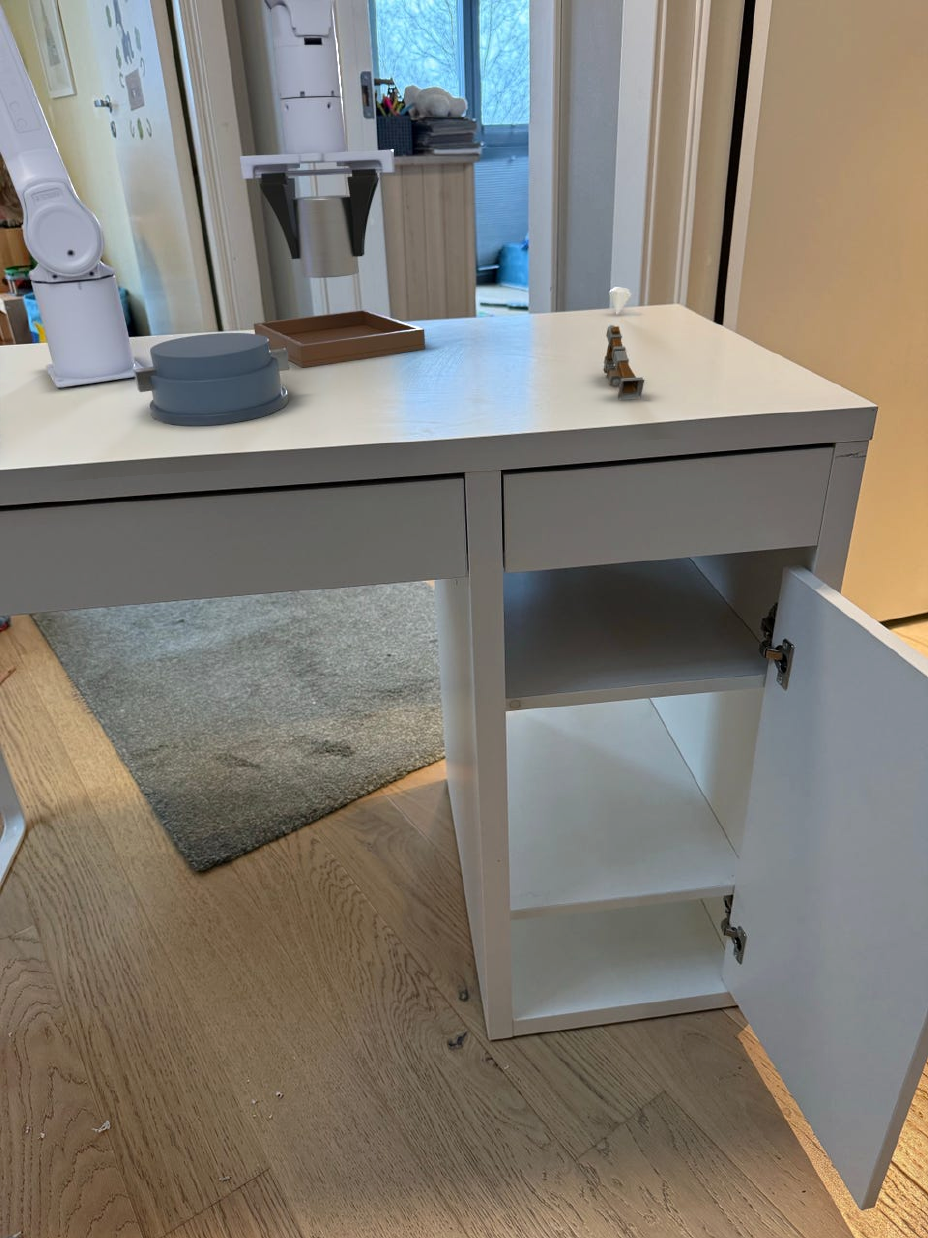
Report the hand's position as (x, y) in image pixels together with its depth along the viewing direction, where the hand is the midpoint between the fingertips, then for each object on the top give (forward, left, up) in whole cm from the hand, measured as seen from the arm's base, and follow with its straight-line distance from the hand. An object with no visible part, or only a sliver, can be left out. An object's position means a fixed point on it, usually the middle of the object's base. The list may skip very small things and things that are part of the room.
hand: (328, 256), depth 86 cm
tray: (0, 0, -9) cm, 9 cm away
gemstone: (+5, +33, -9) cm, 34 cm away
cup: (0, 0, -2) cm, 2 cm away
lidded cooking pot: (+17, -17, -9) cm, 25 cm away
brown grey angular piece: (+32, +12, -9) cm, 35 cm away
